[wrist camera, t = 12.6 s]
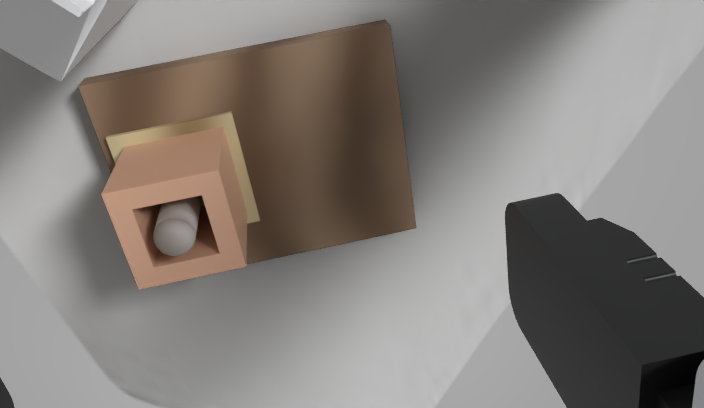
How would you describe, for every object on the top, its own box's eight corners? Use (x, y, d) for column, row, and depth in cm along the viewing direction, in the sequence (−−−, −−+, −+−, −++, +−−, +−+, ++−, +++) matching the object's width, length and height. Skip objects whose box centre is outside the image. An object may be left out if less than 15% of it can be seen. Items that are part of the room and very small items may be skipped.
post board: (384, 19, 36) (423, 60, 28) (411, 217, 42) (448, 297, 34) (84, 78, 35) (34, 137, 27) (156, 270, 41) (132, 366, 33)
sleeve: (223, 126, 35) (218, 170, 30) (247, 212, 38) (246, 266, 33) (124, 146, 35) (101, 194, 30) (155, 232, 38) (138, 289, 32)
